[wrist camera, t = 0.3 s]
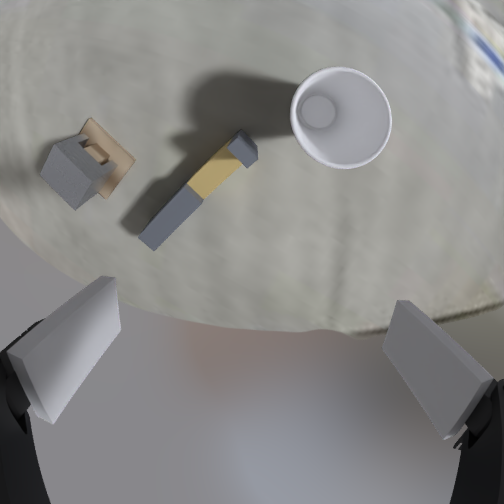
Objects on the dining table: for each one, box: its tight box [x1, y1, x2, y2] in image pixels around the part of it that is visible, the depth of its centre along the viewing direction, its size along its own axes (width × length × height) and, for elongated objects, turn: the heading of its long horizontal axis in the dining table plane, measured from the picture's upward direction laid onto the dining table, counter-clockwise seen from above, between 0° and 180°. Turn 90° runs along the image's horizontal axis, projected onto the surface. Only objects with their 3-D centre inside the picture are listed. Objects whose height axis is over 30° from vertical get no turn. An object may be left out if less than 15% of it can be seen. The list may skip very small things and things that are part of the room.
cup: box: [290, 66, 392, 169], centre depth 26 cm, size 10×10×11 cm
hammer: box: [138, 130, 258, 251], centre depth 32 cm, size 19×3×8 cm, turn 132°
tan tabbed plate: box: [79, 118, 136, 199], centre depth 31 cm, size 8×10×5 cm
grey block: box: [40, 133, 118, 210], centre depth 28 cm, size 5×7×7 cm
